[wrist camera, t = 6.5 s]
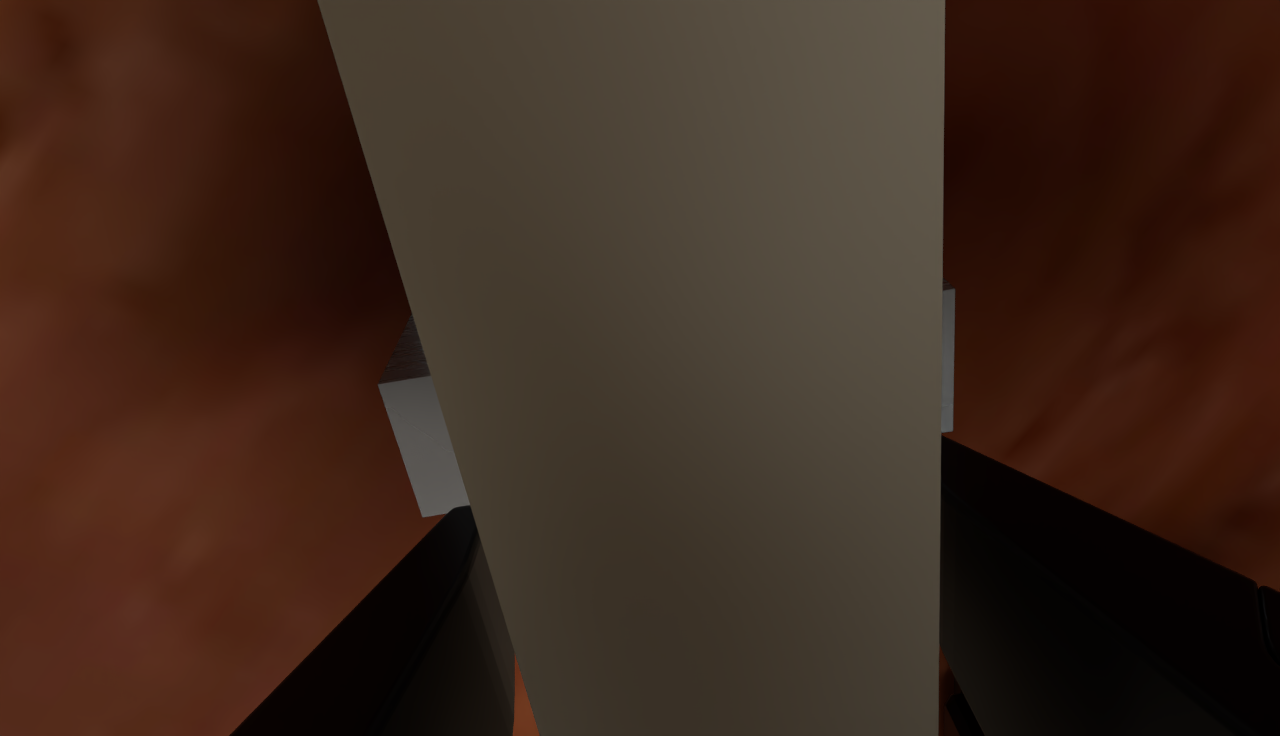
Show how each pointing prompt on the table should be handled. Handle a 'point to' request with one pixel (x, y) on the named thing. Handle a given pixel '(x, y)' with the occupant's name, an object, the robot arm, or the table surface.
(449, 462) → the fulcrum
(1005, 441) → the table surface
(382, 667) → the robot arm
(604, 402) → the batten
